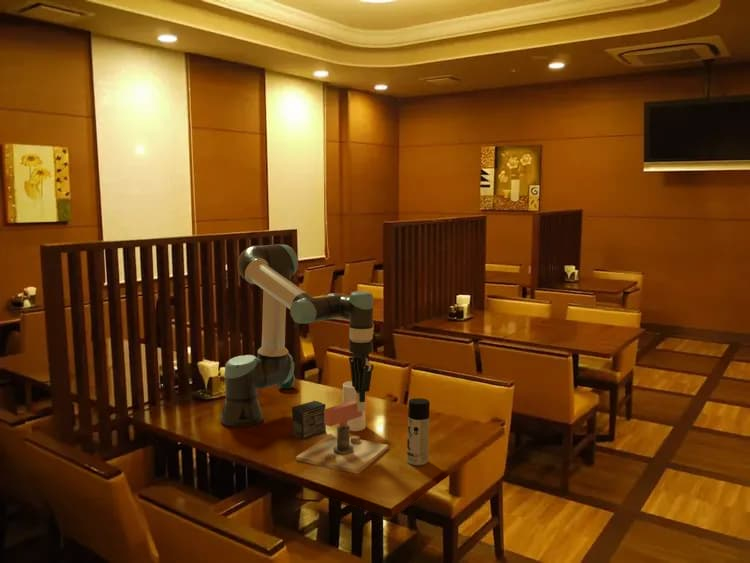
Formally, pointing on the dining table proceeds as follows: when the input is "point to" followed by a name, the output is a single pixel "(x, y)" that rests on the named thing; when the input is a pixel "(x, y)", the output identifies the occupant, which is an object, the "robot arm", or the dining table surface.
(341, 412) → the pink rectangular block
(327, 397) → the dining table surface
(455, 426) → the dining table surface
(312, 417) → the small box
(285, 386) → the sphere
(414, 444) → the spray can
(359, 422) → the cup
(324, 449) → the post board
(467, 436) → the dining table surface
